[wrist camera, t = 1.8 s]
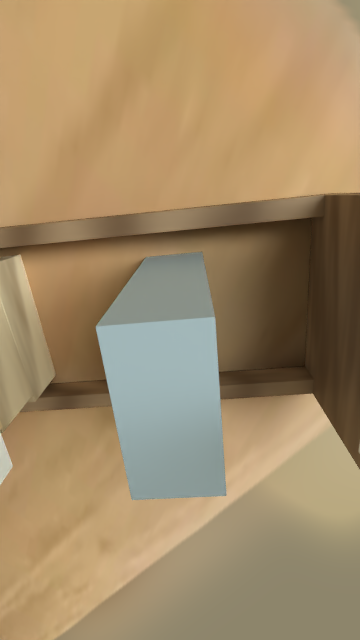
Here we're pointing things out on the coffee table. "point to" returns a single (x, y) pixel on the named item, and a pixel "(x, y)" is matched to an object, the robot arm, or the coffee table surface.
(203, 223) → the rack
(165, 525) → the coffee table surface
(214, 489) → the light blue block
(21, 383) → the offcut
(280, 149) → the coffee table surface
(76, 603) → the coffee table surface
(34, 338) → the offcut
